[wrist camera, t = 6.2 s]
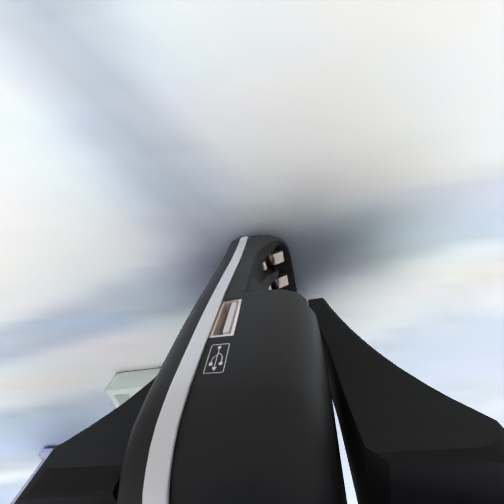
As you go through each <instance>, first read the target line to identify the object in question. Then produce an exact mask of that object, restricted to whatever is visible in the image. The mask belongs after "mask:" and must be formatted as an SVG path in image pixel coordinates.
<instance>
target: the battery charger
mask: <svg viewBox="0 0 504 504" xmlns="http://www.w3.org/2000/svg"><path fill="white" fill-rule="evenodd" d="M117 504H347V499H346V492H345V486H344V479H343V472H342V465H341V459H340V452H339V444H338V438H337V431H336V424H335V417H334V410H333V403H332V397H331V390H330V384H329V377H328V371H327V365H326V360H325V354H324V348H323V343H322V338H321V333H320V329H319V325H318V321H317V318H316V314H315V313H314V312H313V311H312V309H311V308H310V307H309V304H308V302H307V301H306V299H305V298H304V297H302V296H301V295H300V294H298V293H297V290H296V284H295V278H294V273H293V267H292V262H291V257H290V252H289V249H288V246H287V245H286V243H285V242H284V241H283V240H281V239H280V238H277V237H273V236H255V237H250V238H249V237H248V236H246V237H241V238H240V239H238V240H235V241H233V242H232V243H231V244H230V247H229V249H228V251H227V253H226V255H225V257H224V259H223V261H222V262H221V264H220V266H219V268H218V269H217V271H216V272H215V274H214V275H213V277H212V278H211V280H210V282H209V283H208V285H207V286H206V288H205V290H204V291H203V293H202V295H201V296H200V298H199V299H198V301H197V303H196V304H195V306H194V308H193V310H192V311H191V313H190V315H189V317H188V318H187V320H186V322H185V324H184V325H183V327H182V329H181V331H180V333H179V335H178V337H177V338H176V340H175V342H174V344H173V346H172V348H171V350H170V352H169V353H168V355H167V357H166V359H165V361H164V363H163V365H162V367H161V369H160V371H159V373H158V375H157V376H156V378H155V380H154V382H153V384H152V386H151V388H150V390H149V392H148V394H147V396H146V398H145V401H144V403H143V405H142V407H141V410H140V412H139V414H138V417H137V419H136V421H135V424H134V426H133V428H132V431H131V435H130V438H129V442H128V445H127V449H126V452H125V456H124V459H123V463H122V466H121V474H120V482H119V490H118V498H117Z"/></svg>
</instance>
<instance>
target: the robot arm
mask: <svg viewBox="0 0 504 504" xmlns="http://www.w3.org/2000/svg"><path fill="white" fill-rule="evenodd" d="M308 302H309V307H310V308H311V309H312V311H313V312H314V313H315V314H316V318H317V321H318V325H319V329H320V333H321V338H322V343H323V348H324V354H325V360H326V365H327V371H328V377H329V384H330V390H331V397H332V400H333V403H334V406H335V409H336V413H337V416H338V420H339V424H340V428H341V432H342V436H343V441H344V445H345V449H346V453H347V458H348V462H349V466H350V471H351V475H352V479H353V483H354V488H355V492H356V497H357V501H358V504H504V428H503V427H502V426H501V425H500V424H499V423H498V422H497V421H496V420H494V419H492V418H490V417H488V416H486V415H484V414H482V413H480V412H478V411H476V410H474V409H472V408H470V407H468V406H466V405H464V404H462V403H460V402H458V401H456V400H454V399H452V398H450V397H448V396H446V395H444V394H442V393H441V392H439V391H437V390H435V389H433V388H432V387H430V386H428V385H426V384H425V383H423V382H421V381H420V380H418V379H417V378H415V377H413V376H412V375H410V374H409V373H407V372H405V371H404V370H402V369H401V368H399V367H398V366H396V365H395V364H393V363H392V362H391V361H389V360H388V359H386V358H385V357H384V356H382V355H381V354H380V353H378V352H377V351H376V350H374V349H373V348H372V347H371V346H370V345H368V344H367V343H366V342H365V341H364V340H362V339H361V338H360V337H359V336H358V335H357V334H356V333H355V332H354V331H352V330H351V329H350V328H349V327H348V326H347V325H346V324H345V323H344V322H343V321H342V320H341V319H340V317H339V316H338V315H337V314H336V313H335V312H334V311H333V310H332V308H331V307H330V306H329V305H328V303H327V302H326V301H325V300H324V299H323V298H318V299H311V300H308ZM155 378H156V377H155ZM155 378H154V379H153V380H151V381H150V382H149V383H148V384H147V385H146V386H144V387H143V388H142V389H141V390H139V391H138V392H137V393H136V394H134V395H133V396H132V397H131V398H129V399H128V400H127V401H126V402H124V403H123V404H121V405H120V406H119V407H117V408H116V409H115V410H113V411H112V412H110V413H109V414H108V415H106V416H105V417H103V418H102V419H100V420H99V421H97V422H96V423H94V424H93V425H91V426H90V427H88V428H87V429H85V430H83V431H82V432H80V433H79V434H77V435H75V436H74V437H72V438H71V439H69V440H67V441H66V442H64V443H62V444H61V445H59V446H57V447H56V448H49V449H42V450H41V451H40V453H39V457H40V458H41V459H42V462H41V463H40V464H39V466H38V467H37V468H36V470H35V471H34V472H33V474H32V475H31V477H30V478H29V479H28V481H27V482H26V483H25V485H24V486H23V487H22V489H21V490H20V491H19V493H18V494H17V496H16V497H15V498H14V500H13V501H12V502H11V504H117V498H118V490H119V482H120V474H121V466H122V463H123V459H124V456H125V452H126V449H127V445H128V442H129V438H130V435H131V431H132V428H133V426H134V424H135V421H136V419H137V417H138V414H139V412H140V410H141V407H142V405H143V403H144V401H145V398H146V396H147V394H148V392H149V390H150V388H151V386H152V384H153V382H154V380H155Z"/></svg>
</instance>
